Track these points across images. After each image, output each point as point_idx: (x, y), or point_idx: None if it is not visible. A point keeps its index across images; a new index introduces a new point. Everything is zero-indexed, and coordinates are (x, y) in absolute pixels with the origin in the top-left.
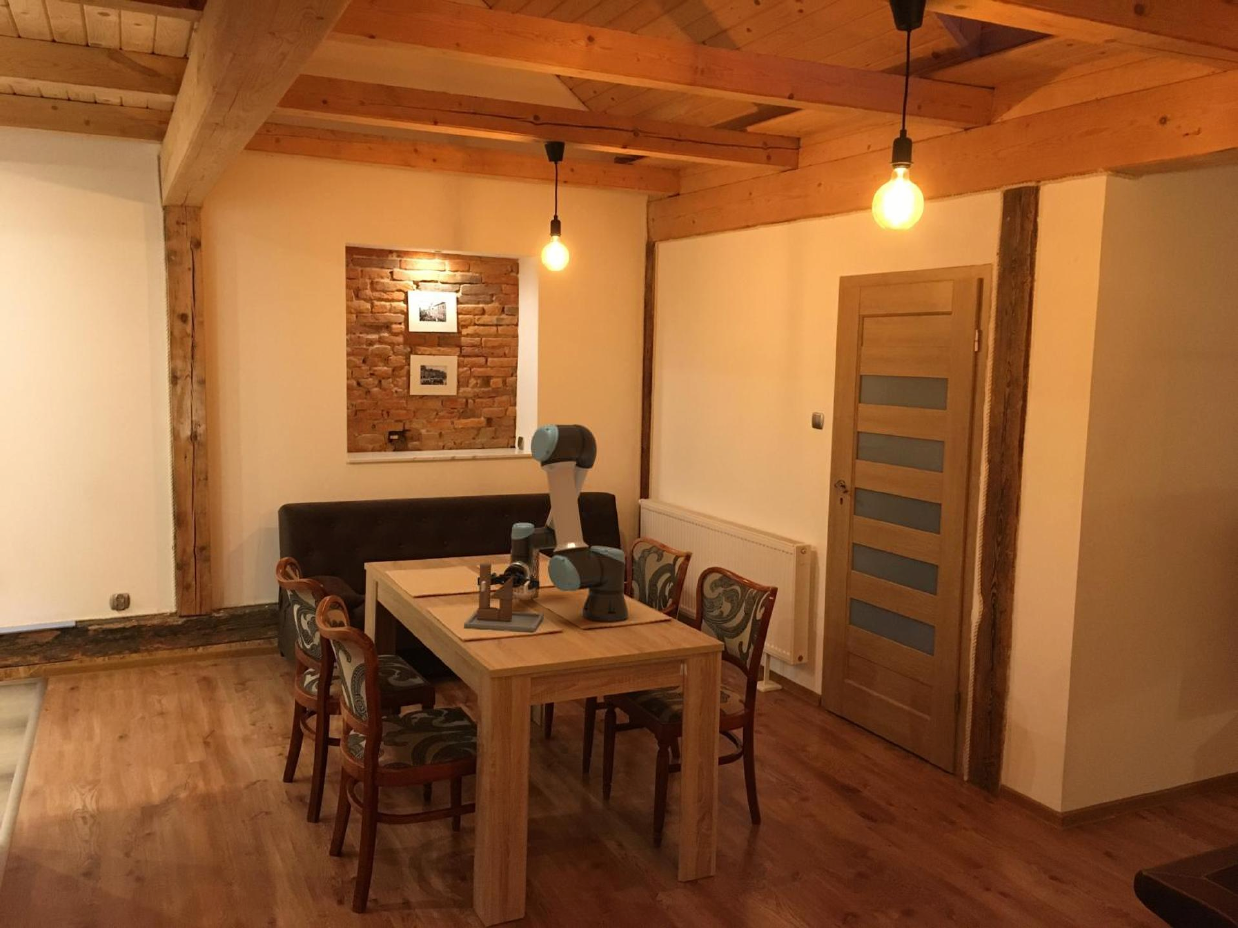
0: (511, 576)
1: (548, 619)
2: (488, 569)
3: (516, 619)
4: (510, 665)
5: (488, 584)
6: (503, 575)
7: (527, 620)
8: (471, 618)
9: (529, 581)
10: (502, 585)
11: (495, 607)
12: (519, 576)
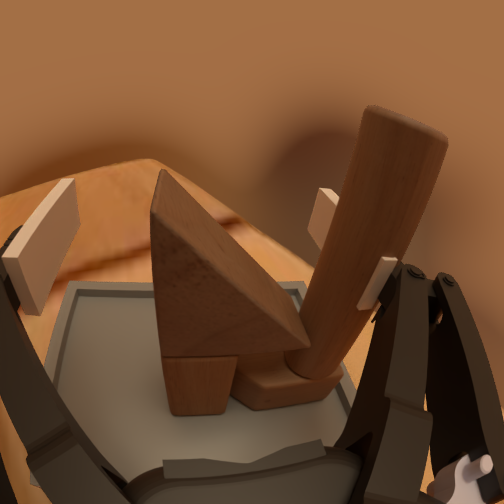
0: (263, 502)
1: (19, 469)
2: (357, 138)
3: (149, 420)
4: (130, 164)
5: (325, 239)
6: (378, 433)
7: (95, 411)
8: None
9: (8, 249)
10: (236, 260)
11: (263, 380)
12: (93, 457)
